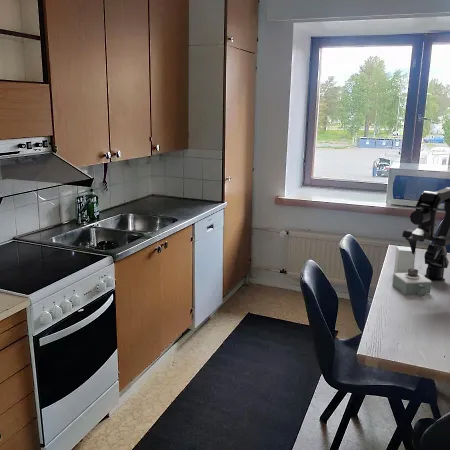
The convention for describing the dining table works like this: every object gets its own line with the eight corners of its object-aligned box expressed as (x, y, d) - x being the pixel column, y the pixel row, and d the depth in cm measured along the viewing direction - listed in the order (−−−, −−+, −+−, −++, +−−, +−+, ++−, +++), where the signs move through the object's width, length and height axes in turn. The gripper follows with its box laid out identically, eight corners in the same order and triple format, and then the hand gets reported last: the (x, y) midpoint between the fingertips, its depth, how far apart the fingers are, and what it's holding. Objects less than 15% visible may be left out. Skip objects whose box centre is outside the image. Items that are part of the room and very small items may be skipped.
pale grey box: (415, 284, 206) (417, 272, 205) (434, 296, 193) (435, 283, 191) (392, 285, 204) (393, 273, 203) (409, 297, 191) (410, 285, 190)
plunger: (414, 284, 204) (417, 266, 202) (425, 291, 196) (427, 273, 194) (396, 284, 203) (398, 267, 201) (406, 292, 195) (408, 273, 193)
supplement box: (413, 278, 213) (416, 251, 210) (395, 276, 215) (398, 250, 212) (410, 272, 220) (413, 246, 217) (393, 271, 222) (396, 245, 219)
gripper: (397, 219, 200) (393, 254, 203) (440, 228, 186) (435, 266, 190) (410, 216, 207) (406, 250, 211) (453, 224, 193) (448, 260, 197)
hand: (423, 256), depth 202 cm, fingers open, 9 cm apart
